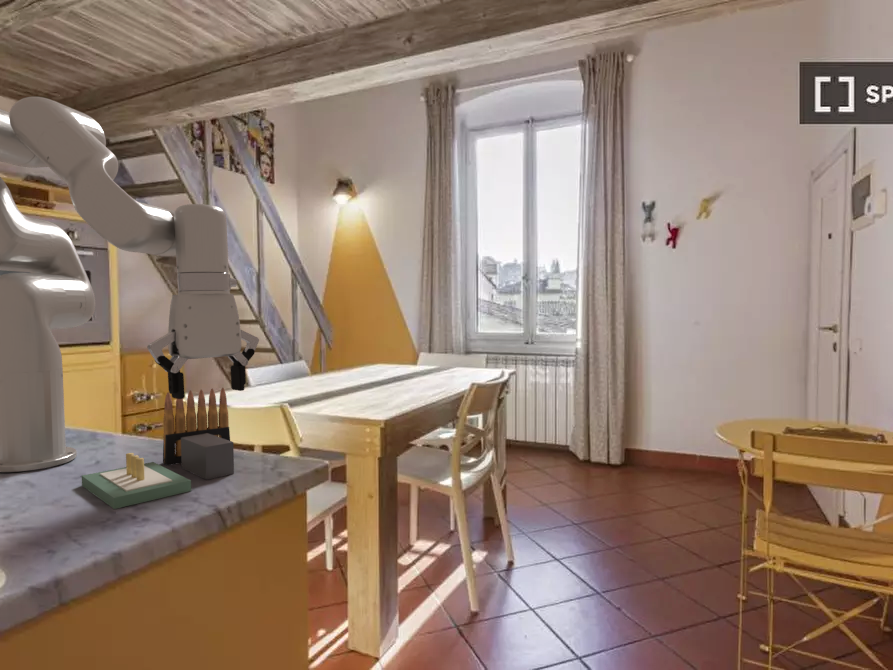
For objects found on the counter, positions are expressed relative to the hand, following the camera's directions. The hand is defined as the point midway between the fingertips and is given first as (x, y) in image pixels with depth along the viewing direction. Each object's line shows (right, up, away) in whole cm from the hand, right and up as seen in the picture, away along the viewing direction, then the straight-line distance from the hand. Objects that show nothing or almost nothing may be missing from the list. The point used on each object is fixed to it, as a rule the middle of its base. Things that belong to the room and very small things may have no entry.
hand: (209, 393), depth 92 cm
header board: (-7, -13, -8) cm, 17 cm away
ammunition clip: (-5, -12, +8) cm, 15 cm away
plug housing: (-1, -12, +1) cm, 12 cm away
